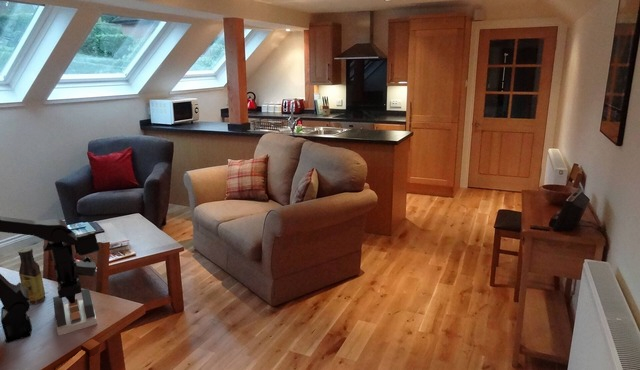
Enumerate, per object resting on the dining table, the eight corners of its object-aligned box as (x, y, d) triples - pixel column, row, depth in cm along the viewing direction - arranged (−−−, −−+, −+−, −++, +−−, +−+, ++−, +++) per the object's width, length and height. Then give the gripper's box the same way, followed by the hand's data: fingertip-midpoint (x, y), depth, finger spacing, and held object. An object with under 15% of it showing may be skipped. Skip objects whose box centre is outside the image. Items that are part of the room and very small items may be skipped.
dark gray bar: (86, 318, 143) (84, 306, 142) (83, 301, 153) (80, 290, 151) (95, 316, 144) (92, 304, 143) (91, 299, 154) (88, 288, 153)
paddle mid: (70, 313, 145) (69, 307, 145) (70, 312, 146) (69, 306, 146) (79, 311, 147) (78, 305, 146) (79, 310, 148) (78, 304, 147)
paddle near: (71, 320, 142) (70, 314, 141) (71, 319, 143) (70, 313, 142) (80, 317, 143) (79, 311, 143) (80, 316, 144) (79, 310, 144)
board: (97, 323, 144) (96, 318, 143) (58, 335, 138) (57, 329, 138) (92, 302, 156) (91, 297, 155) (56, 312, 150) (54, 307, 150)
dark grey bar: (57, 327, 139) (54, 315, 138) (55, 309, 149) (53, 297, 147) (66, 324, 140) (63, 312, 139) (63, 306, 150) (61, 295, 149)
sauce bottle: (21, 302, 157) (8, 251, 151) (39, 294, 162) (27, 244, 156) (33, 307, 154) (20, 254, 148) (50, 298, 159) (39, 247, 153)
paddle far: (69, 307, 149) (68, 301, 149) (69, 306, 150) (68, 300, 150) (78, 304, 150) (77, 299, 150) (78, 303, 151) (76, 298, 151)
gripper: (95, 264, 138) (103, 308, 142) (88, 242, 153) (96, 283, 157) (53, 273, 132) (63, 319, 137) (51, 250, 147) (60, 292, 152)
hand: (72, 302), depth 146 cm, fingers closed
